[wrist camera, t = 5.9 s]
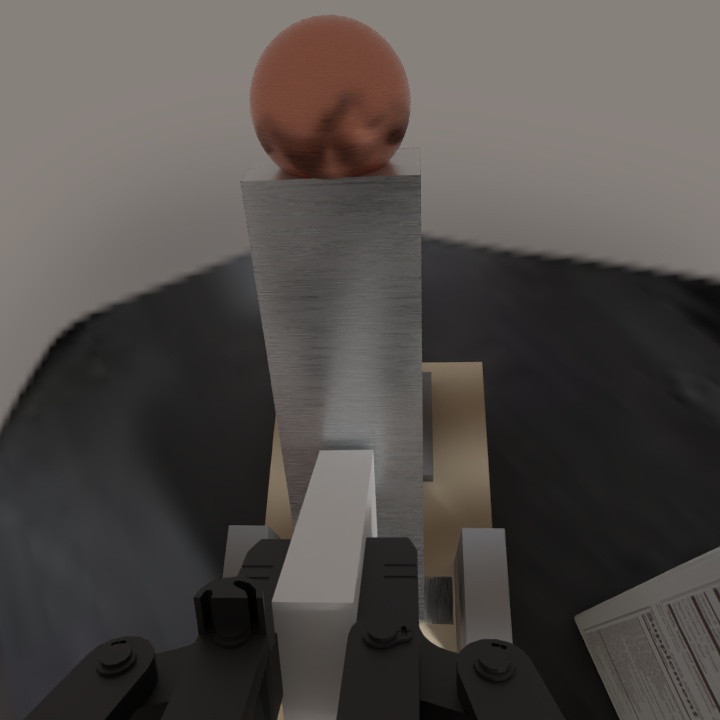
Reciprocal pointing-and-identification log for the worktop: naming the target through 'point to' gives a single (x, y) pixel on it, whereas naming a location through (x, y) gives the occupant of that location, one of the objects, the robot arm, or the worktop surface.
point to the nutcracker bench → (432, 509)
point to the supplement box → (661, 644)
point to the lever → (342, 266)
